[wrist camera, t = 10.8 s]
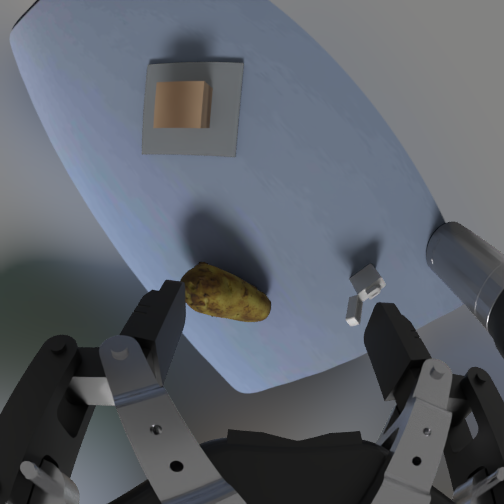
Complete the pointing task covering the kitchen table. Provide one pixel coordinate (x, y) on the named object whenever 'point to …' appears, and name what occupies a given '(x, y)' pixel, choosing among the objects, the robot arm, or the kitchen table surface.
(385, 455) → the robot arm
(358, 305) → the lighter
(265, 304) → the potato
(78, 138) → the kitchen table surface
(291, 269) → the kitchen table surface
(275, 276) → the kitchen table surface
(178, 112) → the block
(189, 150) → the coaster
